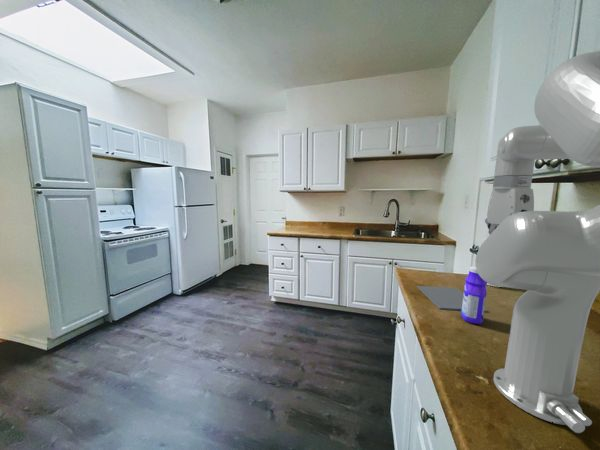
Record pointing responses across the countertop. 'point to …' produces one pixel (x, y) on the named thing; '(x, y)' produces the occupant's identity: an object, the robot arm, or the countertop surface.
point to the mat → (444, 297)
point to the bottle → (474, 297)
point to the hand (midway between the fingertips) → (502, 250)
